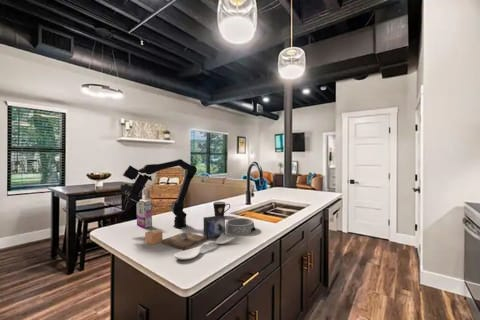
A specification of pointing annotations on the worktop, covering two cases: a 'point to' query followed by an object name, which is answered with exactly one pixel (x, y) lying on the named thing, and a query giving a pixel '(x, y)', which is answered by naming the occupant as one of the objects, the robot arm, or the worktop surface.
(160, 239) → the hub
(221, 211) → the coffee mug
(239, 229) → the dog bowl
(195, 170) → the robot arm
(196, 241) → the base plate
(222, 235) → the spoon
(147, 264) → the worktop surface
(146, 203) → the candy bar box
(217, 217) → the small box
